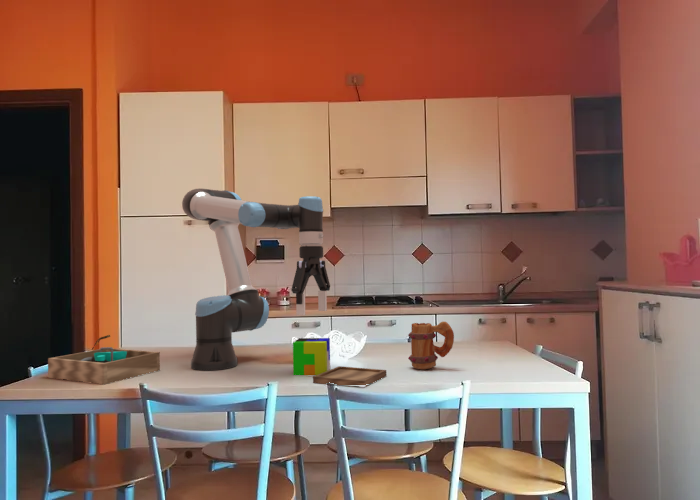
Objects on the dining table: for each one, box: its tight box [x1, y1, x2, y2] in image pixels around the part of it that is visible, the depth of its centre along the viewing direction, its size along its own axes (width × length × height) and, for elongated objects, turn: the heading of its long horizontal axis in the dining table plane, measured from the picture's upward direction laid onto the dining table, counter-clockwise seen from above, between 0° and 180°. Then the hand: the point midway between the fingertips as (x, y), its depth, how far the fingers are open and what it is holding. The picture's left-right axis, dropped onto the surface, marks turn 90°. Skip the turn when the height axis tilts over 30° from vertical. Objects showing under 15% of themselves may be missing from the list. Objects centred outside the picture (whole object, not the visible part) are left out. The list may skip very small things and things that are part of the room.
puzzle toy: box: [292, 337, 331, 375], centre depth 169 cm, size 10×10×10 cm
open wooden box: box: [47, 348, 161, 385], centre depth 172 cm, size 25×21×6 cm
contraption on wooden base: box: [81, 334, 127, 363], centre depth 172 cm, size 14×18×15 cm
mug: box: [407, 320, 455, 370], centre depth 170 cm, size 15×8×15 cm, turn 68°
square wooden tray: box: [312, 366, 387, 386], centre depth 157 cm, size 16×16×2 cm
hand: (312, 313), depth 170 cm, fingers open, 13 cm apart
